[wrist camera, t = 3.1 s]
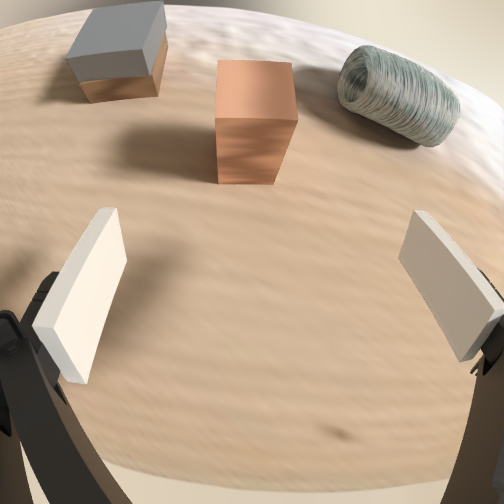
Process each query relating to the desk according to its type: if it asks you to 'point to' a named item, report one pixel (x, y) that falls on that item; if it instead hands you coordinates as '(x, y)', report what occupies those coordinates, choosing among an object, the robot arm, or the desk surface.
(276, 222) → the desk surface
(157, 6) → the top slab
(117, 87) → the bottom slab
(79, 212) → the desk surface
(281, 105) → the tall block
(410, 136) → the spool
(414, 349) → the desk surface
